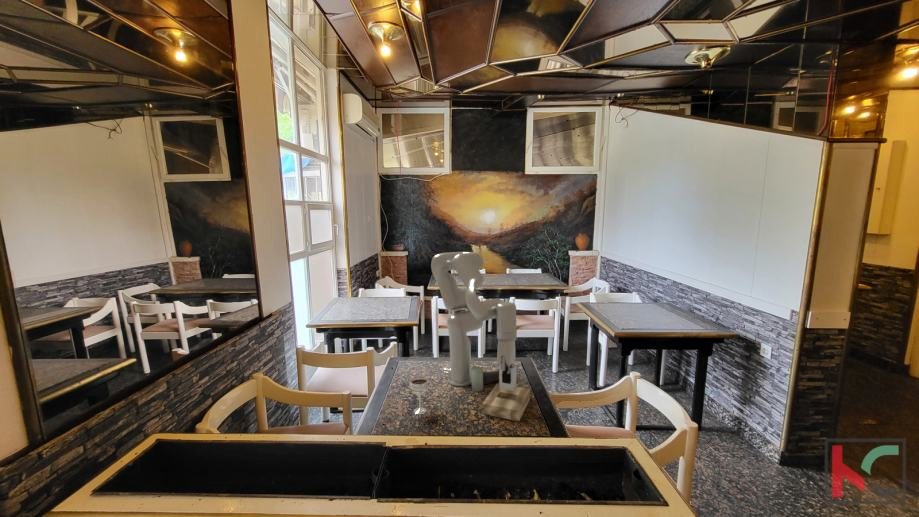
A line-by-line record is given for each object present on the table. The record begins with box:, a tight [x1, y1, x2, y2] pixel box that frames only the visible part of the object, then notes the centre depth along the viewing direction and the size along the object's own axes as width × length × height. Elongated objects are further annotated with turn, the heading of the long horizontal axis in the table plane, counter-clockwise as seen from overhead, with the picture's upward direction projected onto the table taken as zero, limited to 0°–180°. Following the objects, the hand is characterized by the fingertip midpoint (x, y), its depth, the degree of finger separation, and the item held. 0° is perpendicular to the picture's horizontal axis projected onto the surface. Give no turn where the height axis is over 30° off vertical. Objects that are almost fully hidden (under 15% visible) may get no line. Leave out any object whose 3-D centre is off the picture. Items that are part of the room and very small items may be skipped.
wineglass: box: [410, 376, 429, 415], centre depth 129 cm, size 7×7×12 cm
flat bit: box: [498, 363, 518, 391], centre depth 131 cm, size 6×3×9 cm, turn 66°
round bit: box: [471, 366, 484, 393], centre depth 146 cm, size 5×5×9 cm
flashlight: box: [483, 368, 499, 385], centre depth 154 cm, size 15×5×5 cm, turn 113°
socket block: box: [481, 383, 531, 422], centre depth 132 cm, size 14×18×4 cm
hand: (507, 380), depth 131 cm, fingers closed on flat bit, 3 cm apart
